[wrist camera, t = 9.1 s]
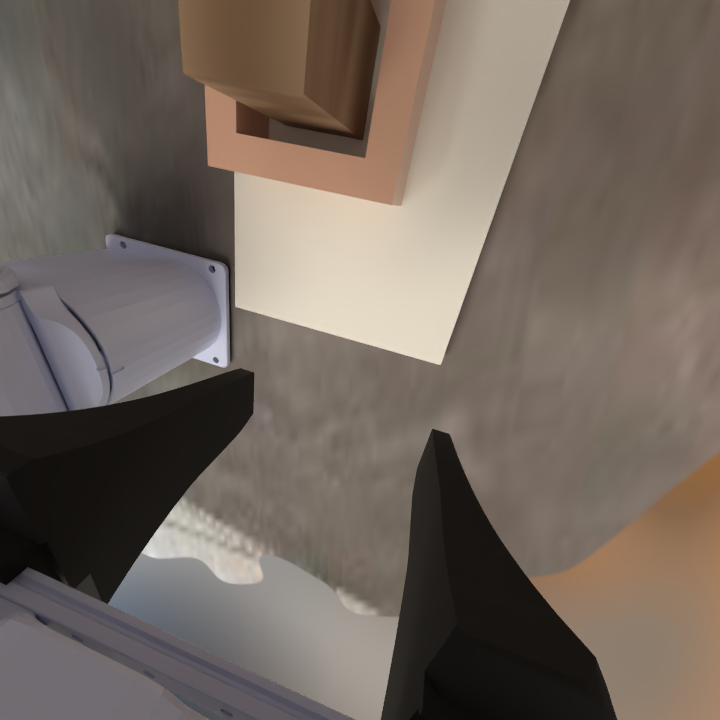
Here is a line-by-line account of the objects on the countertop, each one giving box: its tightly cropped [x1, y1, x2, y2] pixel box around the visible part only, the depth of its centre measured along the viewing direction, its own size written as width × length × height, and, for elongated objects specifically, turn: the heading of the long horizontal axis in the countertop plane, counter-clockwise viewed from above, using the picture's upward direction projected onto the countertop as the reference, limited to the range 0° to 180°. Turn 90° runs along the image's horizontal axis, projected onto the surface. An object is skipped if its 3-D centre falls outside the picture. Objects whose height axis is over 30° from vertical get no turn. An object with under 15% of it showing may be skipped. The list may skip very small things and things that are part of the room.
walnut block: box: [178, 0, 381, 140], centre depth 11 cm, size 4×4×7 cm
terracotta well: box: [205, 0, 447, 206], centre depth 13 cm, size 9×9×3 cm
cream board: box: [234, 0, 570, 365], centre depth 16 cm, size 14×17×1 cm
